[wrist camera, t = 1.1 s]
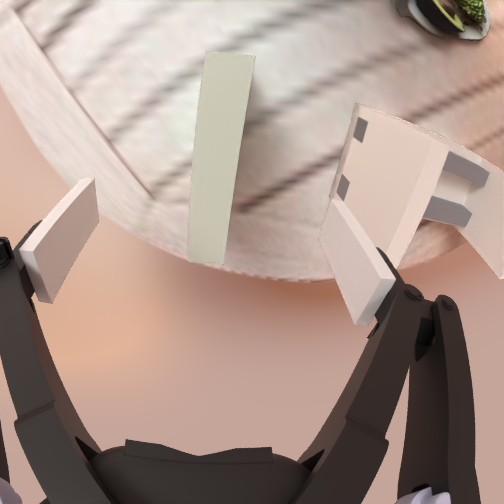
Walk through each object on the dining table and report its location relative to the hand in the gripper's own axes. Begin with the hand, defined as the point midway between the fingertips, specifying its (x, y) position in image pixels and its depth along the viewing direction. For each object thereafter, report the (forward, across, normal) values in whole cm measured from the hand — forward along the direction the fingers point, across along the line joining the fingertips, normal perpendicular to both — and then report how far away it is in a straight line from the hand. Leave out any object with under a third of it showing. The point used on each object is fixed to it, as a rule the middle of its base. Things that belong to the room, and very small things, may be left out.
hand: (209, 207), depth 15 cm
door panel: (+17, 0, 0) cm, 17 cm away
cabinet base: (+17, +26, 0) cm, 31 cm away
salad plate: (+17, +22, +28) cm, 39 cm away
